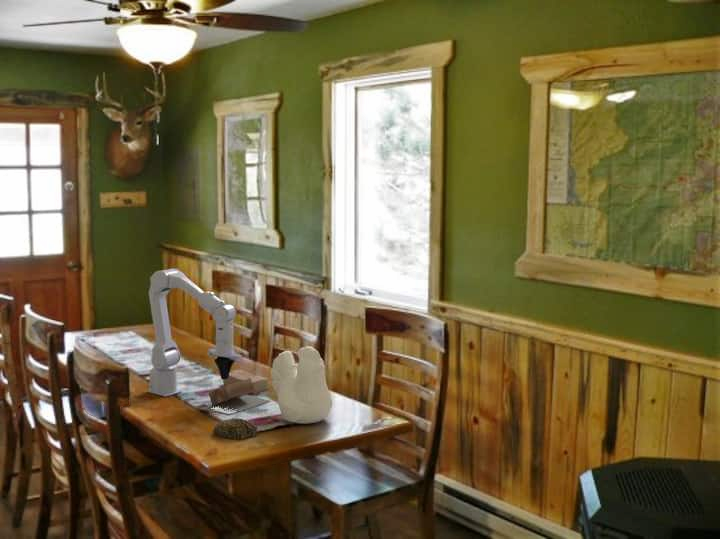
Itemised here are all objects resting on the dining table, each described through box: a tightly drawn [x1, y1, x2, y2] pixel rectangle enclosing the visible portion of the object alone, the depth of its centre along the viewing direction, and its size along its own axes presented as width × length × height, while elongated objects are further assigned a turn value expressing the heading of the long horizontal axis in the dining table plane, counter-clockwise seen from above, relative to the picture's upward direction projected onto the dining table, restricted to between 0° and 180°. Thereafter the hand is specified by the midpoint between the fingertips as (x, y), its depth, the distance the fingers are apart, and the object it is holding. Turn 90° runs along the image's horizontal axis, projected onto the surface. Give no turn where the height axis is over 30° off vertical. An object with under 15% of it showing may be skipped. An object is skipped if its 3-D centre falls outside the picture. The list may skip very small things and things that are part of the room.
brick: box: [222, 369, 269, 394], centre depth 288 cm, size 17×8×5 cm, turn 51°
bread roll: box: [212, 417, 258, 441], centre depth 237 cm, size 13×12×5 cm
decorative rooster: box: [270, 345, 333, 424], centre depth 252 cm, size 25×16×25 cm, turn 33°
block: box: [208, 378, 255, 406], centre depth 267 cm, size 4×12×9 cm
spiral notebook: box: [206, 394, 271, 412], centre depth 265 cm, size 11×20×1 cm, turn 145°
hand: (224, 378), depth 268 cm, fingers closed
